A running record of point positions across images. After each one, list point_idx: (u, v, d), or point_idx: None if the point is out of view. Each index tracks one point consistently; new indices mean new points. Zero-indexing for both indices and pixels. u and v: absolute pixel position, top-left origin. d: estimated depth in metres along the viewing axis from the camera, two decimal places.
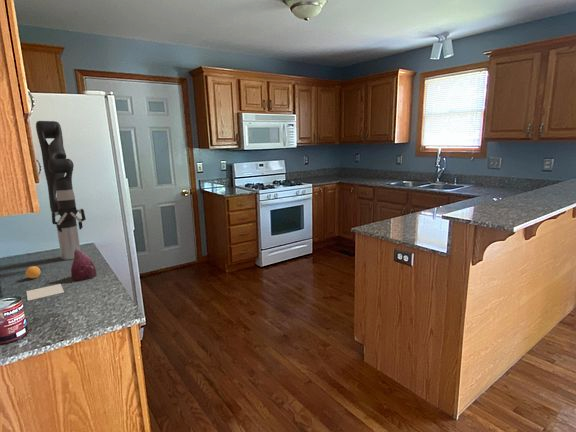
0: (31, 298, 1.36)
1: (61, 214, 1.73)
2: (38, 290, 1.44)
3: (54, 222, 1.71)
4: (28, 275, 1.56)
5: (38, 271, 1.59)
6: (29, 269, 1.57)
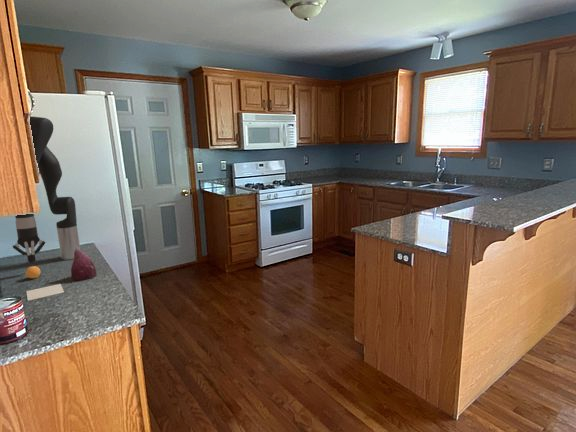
0: (31, 298, 1.36)
1: (22, 245, 1.61)
2: (38, 290, 1.44)
3: (23, 253, 1.62)
4: (28, 275, 1.56)
5: (38, 271, 1.59)
6: (29, 269, 1.57)
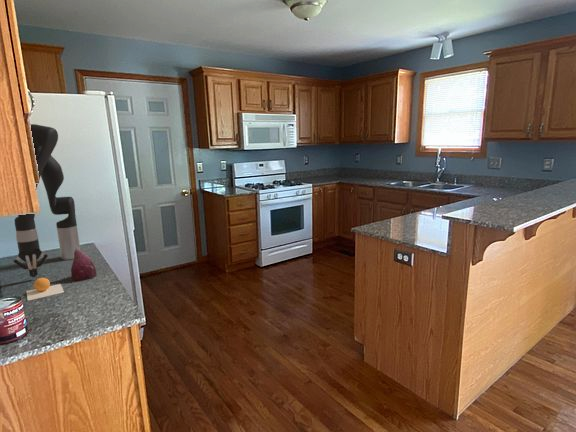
0: (31, 298, 1.36)
1: (24, 259, 1.53)
2: None
3: (24, 267, 1.53)
4: (36, 289, 1.42)
5: (48, 287, 1.44)
6: (39, 288, 1.41)
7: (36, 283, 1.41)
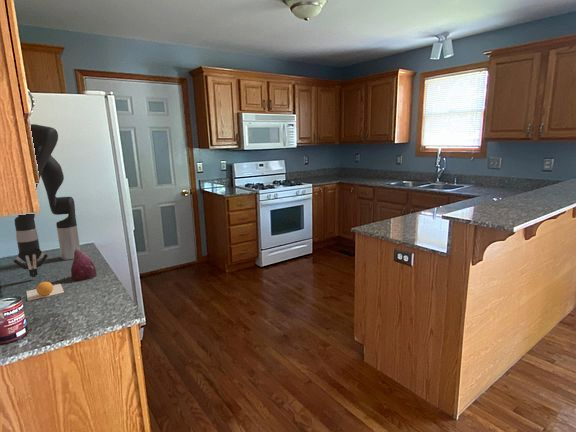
0: (31, 298, 1.36)
1: (24, 259, 1.53)
2: None
3: (24, 267, 1.53)
4: None
5: None
6: None
7: (40, 294, 1.38)
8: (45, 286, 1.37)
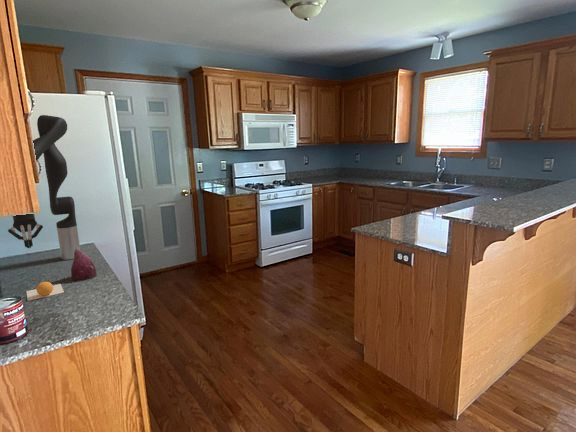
0: (31, 298, 1.36)
1: (18, 229, 1.50)
2: None
3: (19, 237, 1.51)
4: None
5: None
6: None
7: (40, 294, 1.38)
8: (45, 286, 1.37)
